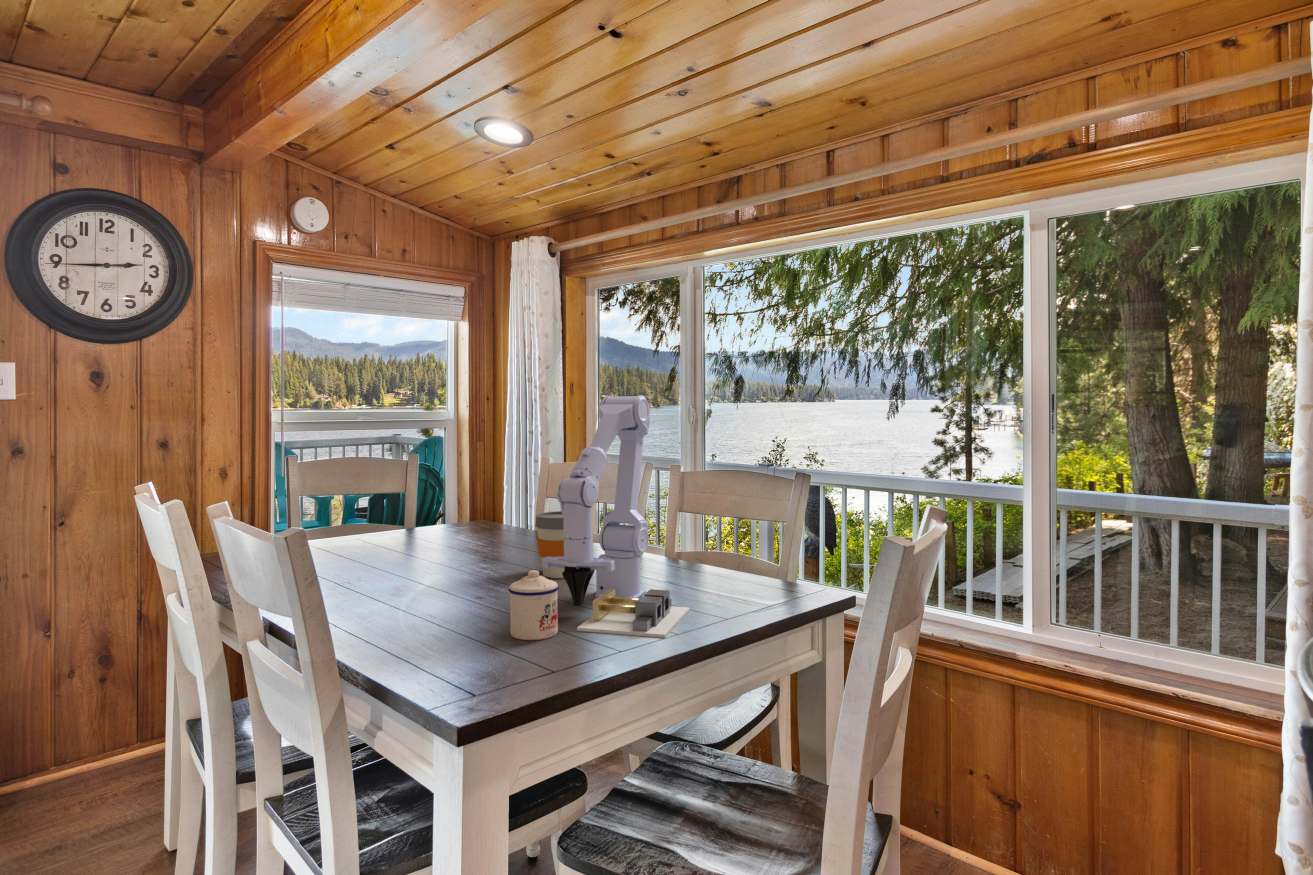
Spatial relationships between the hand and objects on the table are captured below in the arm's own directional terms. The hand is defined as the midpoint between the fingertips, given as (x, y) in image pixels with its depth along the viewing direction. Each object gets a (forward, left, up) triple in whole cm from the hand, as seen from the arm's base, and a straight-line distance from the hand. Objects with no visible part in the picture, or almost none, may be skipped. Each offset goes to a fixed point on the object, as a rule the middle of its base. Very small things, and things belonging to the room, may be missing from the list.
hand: (578, 604), depth 150 cm
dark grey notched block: (+15, +5, -2) cm, 16 cm away
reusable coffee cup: (-19, +34, -2) cm, 39 cm away
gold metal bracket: (+9, 0, -1) cm, 9 cm away
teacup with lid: (-4, -12, -2) cm, 12 cm away
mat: (+12, 0, -2) cm, 12 cm away
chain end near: (+15, -5, -2) cm, 16 cm away
